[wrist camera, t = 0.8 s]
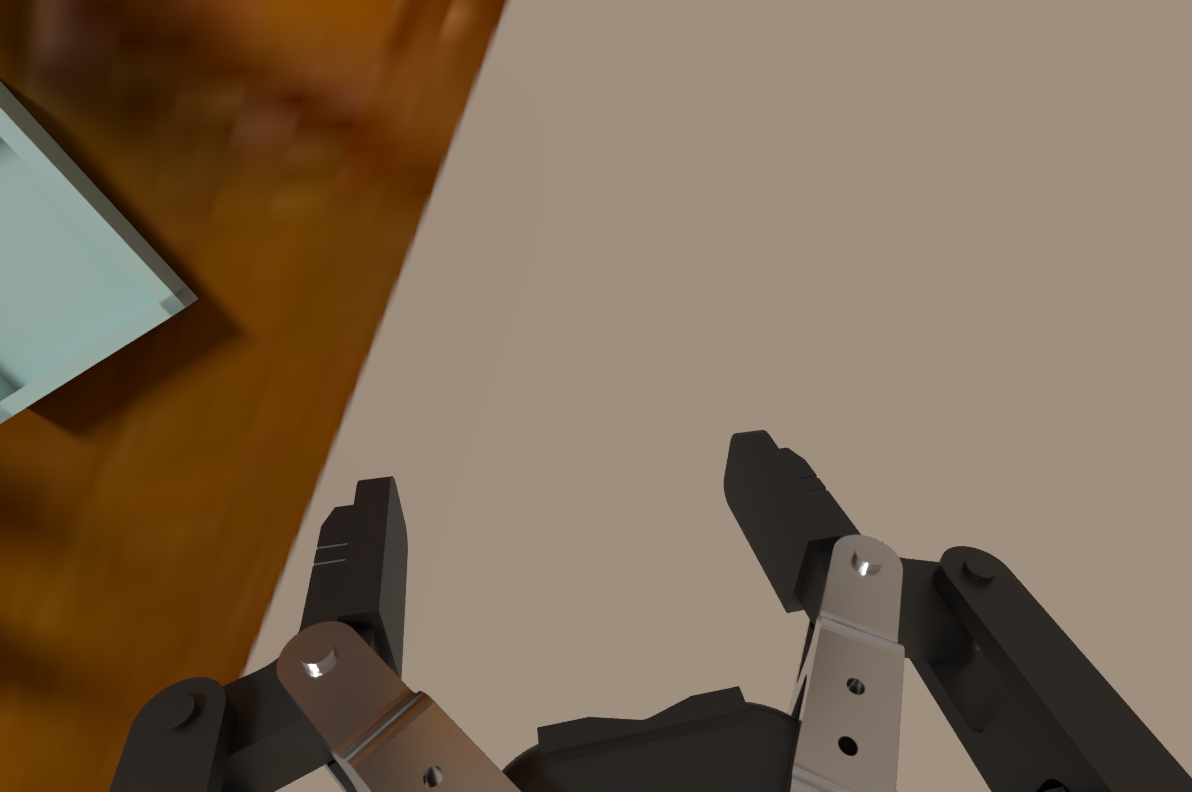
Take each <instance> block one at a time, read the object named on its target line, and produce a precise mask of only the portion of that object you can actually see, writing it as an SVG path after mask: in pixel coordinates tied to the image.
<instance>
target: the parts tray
mask: <svg viewBox="0 0 1192 792" xmlns="http://www.w3.org/2000/svg"><path fill="white" fill-rule="evenodd" d="M198 299H199V298H198V297H197V296H196V295H195V294H194V293H193V292H192V291H191V290H190V289H189V288H188V286H187V285H186V284H185V283H184V282H183V281H182V280H181V279H180V278H179V277H178V275H177V274H176V273H175V272H174V271H173V270H172V269H171V268H170V267H169V266H168V265H167V263H166V262H165V261H164V260H163V259H162V258H161V257H160V256H159V255H158V254H157V252H156V251H155V250H154V249H153V248H152V247H151V246H150V245H149V244H148V243H147V241H146V240H145V239H144V238H143V237H142V236H141V235H140V234H139V233H138V232H137V231H136V229H135V228H134V227H133V226H132V225H131V224H130V223H129V222H128V221H127V220H126V218H125V217H124V216H123V215H122V214H121V213H120V212H119V211H118V210H117V209H116V207H115V206H114V205H113V204H112V203H111V202H110V201H109V200H108V199H107V198H106V197H105V195H104V194H103V193H102V192H101V191H100V190H99V189H98V188H97V187H96V186H95V184H94V183H93V182H92V181H91V180H90V179H89V178H88V177H87V176H86V175H85V174H84V172H83V171H82V170H81V169H80V168H79V167H78V166H77V165H76V164H75V163H74V161H73V160H72V159H71V158H70V157H69V156H68V155H67V154H66V153H65V152H64V150H63V149H62V148H61V147H60V146H59V145H58V144H57V143H56V142H55V141H54V140H53V138H52V137H51V136H50V135H49V134H48V133H47V132H46V131H45V130H44V129H43V127H42V126H41V125H40V124H39V123H38V122H37V121H36V120H35V119H34V118H33V117H32V115H31V114H30V113H29V112H28V111H27V110H26V109H25V108H24V107H23V106H22V104H21V103H20V102H19V101H18V100H17V99H16V98H15V97H14V96H13V95H12V93H11V92H10V91H9V90H8V89H7V88H6V87H5V86H4V85H3V84H2V83H1V81H0V424H1V423H2V422H4V421H5V420H7V419H9V418H10V417H12V416H13V415H15V414H17V413H18V412H20V411H21V410H23V409H25V408H26V407H28V406H29V405H31V404H33V403H34V402H36V401H37V400H39V399H41V398H42V397H44V396H45V395H47V394H49V393H50V392H52V391H53V390H55V389H57V388H58V387H60V386H61V385H63V384H65V383H66V382H68V381H69V380H71V379H73V378H74V377H76V376H77V375H79V374H81V373H82V372H84V371H85V370H87V369H89V368H90V367H92V366H93V365H95V364H97V363H98V362H100V361H101V360H103V359H105V358H106V357H108V356H109V355H111V354H113V353H114V352H116V351H117V350H119V349H121V348H122V347H124V346H125V345H127V344H129V343H130V342H132V341H133V340H135V339H137V338H138V337H140V336H141V335H143V334H145V333H146V332H148V331H149V330H151V329H153V328H154V327H156V326H157V325H159V324H161V323H162V322H164V321H165V320H167V319H169V318H170V317H172V316H173V315H175V314H177V313H178V312H180V311H181V310H183V309H185V308H186V307H188V306H189V305H190V304H192V303H193V302H195V301H196V300H198Z"/></svg>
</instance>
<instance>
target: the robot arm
mask: <svg viewBox="0 0 1192 792" xmlns="http://www.w3.org/2000/svg"><path fill="white" fill-rule="evenodd" d="M724 492H725V497H726V500H727V503H728V505H729V507H730V509H731V511H732V513H733V515H734V516H735V518H736V520H737V522H738V524H739V526H740V527H741V529H742V531H743V533H744V535H745V537H746V539H747V540H748V542H749V544H750V546H751V548H752V549H753V551H754V553H755V555H756V557H757V559H758V561H759V563H760V564H761V566H762V568H763V570H764V572H765V574H766V575H767V577H768V579H769V581H770V583H771V585H772V587H773V588H774V590H775V592H776V594H777V596H778V597H779V599H780V601H781V603H782V605H783V607H784V609H785V611H786V612H787V613H790V612H795V611H801V610H805V612H806V614H807V615H808V617H809V622H808V625H807V629H806V634H805V638H804V643H803V647H802V652H801V657H800V661H799V666H798V670H797V675H796V679H795V684H794V689H793V693H792V697H791V701H790V705H789V708H788V712H787V714H786V713H784V712H782V711H779V710H778V709H775V708H772V707H769V706H766V705H761V704H756V703H751V702H745V700H744V697H743V695H742V693H741V690H740V688H739V686H738V687H733V688H728V689H723V690H718V691H713V692H709V693H704V694H699V695H694V696H690V697H689V698H687V699H685V700H683V701H681V702H679V703H677V704H675V705H673V706H671V707H669V708H668V709H666V710H664V711H662V712H660V713H658V714H656V715H654V716H652V717H650V718H648V719H645V720H631V719H614V718H598V717H587V718H582V719H577V720H572V721H568V722H562V723H558V724H553V725H548V726H543V727H538V728H537V731H538V743H539V744H537V745H535V746H533V747H531V748H529V749H528V750H526V751H525V752H523V753H522V754H520V755H519V756H517V757H516V758H515V759H514V760H513V761H512V762H510V763H509V764H508V765H507V766H506V767H505V768H504V769H503V770H502V771H501V770H500V769H499V768H498V767H497V766H496V765H495V764H494V763H493V762H492V761H491V760H490V759H489V758H488V757H487V756H486V755H485V753H484V752H483V751H481V749H480V748H479V747H478V746H477V745H476V744H475V743H474V742H473V741H472V740H471V739H470V738H469V737H468V736H467V735H466V734H465V733H464V732H463V731H462V729H461V728H460V727H458V726H457V724H456V723H455V722H454V721H453V720H452V719H451V718H450V717H449V716H448V715H447V714H446V713H445V712H444V711H443V710H442V709H441V708H440V707H439V706H438V705H437V703H436V702H434V701H433V700H432V699H431V698H430V697H429V696H428V695H427V694H425V693H424V692H422V691H419V692H417V693H414V692H413V691H412V690H410V689H409V688H408V687H407V686H406V684H405V683H404V682H403V681H402V680H401V676H402V674H401V673H402V656H403V635H404V615H405V596H406V576H407V556H408V542H407V531H406V525H405V520H404V516H403V512H402V508H401V504H400V499H399V495H398V491H397V486H396V483H395V479H394V477H393V476H391V477H383V478H376V479H368V480H361V481H358V483H357V487H356V494H355V500H354V505H349V506H341V507H335V508H334V510H333V511H332V512H331V514H330V515H329V516H328V518H327V519H326V520H325V522H324V523H323V525H322V526H321V530H320V535H319V540H318V544H317V548H318V549H317V550H316V554H315V559H314V566H313V569H312V573H311V578H310V583H309V588H308V593H307V598H306V603H305V607H304V612H303V617H302V622H301V626H300V630H299V632H298V634H297V635H295V636H294V637H293V638H292V639H291V640H290V641H289V642H288V643H287V644H286V646H285V647H284V648H283V650H282V652H281V654H280V656H279V658H277V659H276V660H275V661H274V662H272V663H270V664H269V665H267V666H266V667H264V668H262V669H260V670H258V671H256V672H254V673H251V674H249V675H247V676H245V677H242V678H240V679H238V680H236V681H233V682H231V683H229V684H227V685H225V686H221V685H220V684H219V683H218V682H217V681H215V680H213V679H210V678H205V677H195V678H189V679H186V680H182V681H179V682H177V683H175V684H172V685H171V686H169V687H167V688H165V689H164V690H162V691H161V692H159V693H158V694H157V695H155V696H154V697H153V698H152V699H151V700H150V701H149V702H148V703H147V704H146V705H145V706H144V707H143V708H142V709H141V711H140V712H139V713H138V715H137V716H136V718H135V720H134V721H133V724H132V726H131V728H130V731H129V734H128V737H127V740H126V743H125V746H124V749H123V752H122V755H121V758H120V761H119V764H118V767H117V770H116V773H115V776H114V779H113V782H112V784H111V787H110V790H109V792H275V791H276V790H278V789H280V788H282V787H284V786H286V785H288V784H290V783H291V782H293V781H295V780H297V779H299V778H301V777H303V776H304V775H306V774H308V773H310V772H312V771H314V770H316V769H318V768H319V767H321V766H323V765H324V766H325V768H326V769H327V770H328V772H329V773H330V774H331V775H332V777H333V778H334V780H335V781H336V782H337V784H338V785H339V786H340V788H341V789H342V790H343V792H896V780H897V766H898V765H897V764H898V749H899V735H900V720H901V719H900V718H901V704H902V689H903V688H902V687H903V673H904V658H910V660H911V662H912V663H913V665H914V666H915V668H916V670H917V671H918V673H919V675H920V676H921V678H922V680H923V681H924V683H925V684H926V686H927V688H928V689H929V691H930V693H931V694H932V696H933V697H934V699H935V701H936V702H937V704H938V705H939V707H940V709H941V710H942V712H943V714H944V715H945V717H946V719H947V720H948V722H949V723H950V725H951V726H952V728H953V730H954V732H955V733H956V735H957V736H958V738H959V740H960V741H961V743H962V744H963V746H964V748H965V749H966V751H967V753H968V754H969V756H970V757H971V759H972V761H973V762H974V764H975V766H976V767H977V769H978V770H979V772H980V774H981V775H982V777H983V779H984V780H985V782H986V784H987V785H988V787H989V788H990V790H991V791H992V792H1192V778H1191V777H1190V776H1189V775H1188V773H1187V772H1186V771H1185V770H1184V769H1183V768H1182V766H1180V764H1179V763H1178V762H1177V761H1176V760H1175V759H1174V757H1173V756H1172V755H1171V754H1170V753H1169V752H1168V750H1167V749H1166V748H1165V747H1164V746H1163V745H1162V744H1161V742H1160V741H1159V740H1158V739H1157V738H1156V737H1155V736H1154V734H1153V733H1152V732H1151V731H1150V730H1149V729H1148V728H1147V726H1146V725H1145V724H1144V723H1143V722H1142V721H1141V720H1140V719H1139V717H1138V716H1137V715H1136V714H1135V713H1134V712H1133V710H1132V709H1131V708H1130V707H1129V706H1128V705H1127V704H1126V702H1125V701H1124V700H1123V699H1122V698H1121V697H1120V695H1119V694H1118V693H1117V692H1116V691H1115V690H1114V689H1113V688H1112V686H1111V685H1110V684H1109V683H1108V682H1107V681H1106V679H1105V678H1104V677H1103V676H1102V675H1101V674H1100V673H1099V671H1098V670H1097V669H1096V668H1095V667H1094V666H1093V665H1092V663H1091V662H1090V661H1089V660H1088V659H1087V658H1086V657H1085V655H1084V654H1083V653H1082V652H1081V651H1080V650H1079V649H1078V648H1077V646H1076V645H1075V644H1074V643H1073V642H1072V641H1071V639H1070V638H1069V637H1068V636H1067V635H1066V634H1065V633H1064V631H1063V630H1062V629H1061V628H1060V627H1059V626H1058V625H1057V623H1056V622H1055V621H1054V620H1053V619H1052V618H1051V617H1050V615H1049V614H1048V613H1047V612H1046V611H1045V610H1044V608H1043V607H1042V606H1041V605H1040V604H1039V603H1038V602H1037V600H1035V598H1034V597H1033V596H1032V595H1031V594H1030V593H1029V591H1028V590H1027V589H1026V588H1025V587H1024V586H1023V585H1022V583H1021V582H1020V581H1019V580H1018V579H1017V578H1016V576H1015V575H1014V574H1013V573H1012V572H1011V571H1010V570H1009V569H1008V567H1007V566H1006V565H1005V564H1004V563H1002V562H1001V561H1000V560H999V559H997V558H996V557H994V556H992V555H991V554H989V553H987V552H984V551H982V550H979V549H976V548H972V547H965V546H957V547H952V548H950V549H948V550H946V551H945V552H944V553H943V555H942V557H941V559H940V561H939V562H932V561H923V560H914V559H905V558H900V557H898V555H897V554H896V553H895V552H894V551H893V550H892V549H891V548H890V547H889V546H887V545H886V544H884V543H883V542H881V541H879V540H877V539H874V538H872V537H868V536H864V535H861V534H860V533H859V531H858V530H857V529H856V527H855V526H854V525H853V523H852V522H851V521H850V519H849V518H848V517H847V515H846V514H845V513H844V511H843V510H842V509H841V507H840V506H839V505H838V503H837V502H836V500H835V499H834V498H833V496H832V495H831V494H830V492H829V491H826V487H825V486H824V484H823V483H822V482H821V480H820V479H819V478H817V477H816V474H815V473H814V471H813V470H812V468H811V467H810V466H809V464H808V463H807V462H806V460H805V459H803V458H802V457H800V456H799V455H797V454H796V453H794V452H793V451H792V450H790V449H789V448H781V449H779V448H778V447H777V445H776V444H775V442H774V441H773V439H772V438H771V437H770V435H769V434H768V433H767V432H766V431H764V430H759V431H751V432H742V433H736V434H733V436H732V438H731V441H730V447H729V453H728V459H727V464H726V470H725V476H724Z"/></svg>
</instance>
